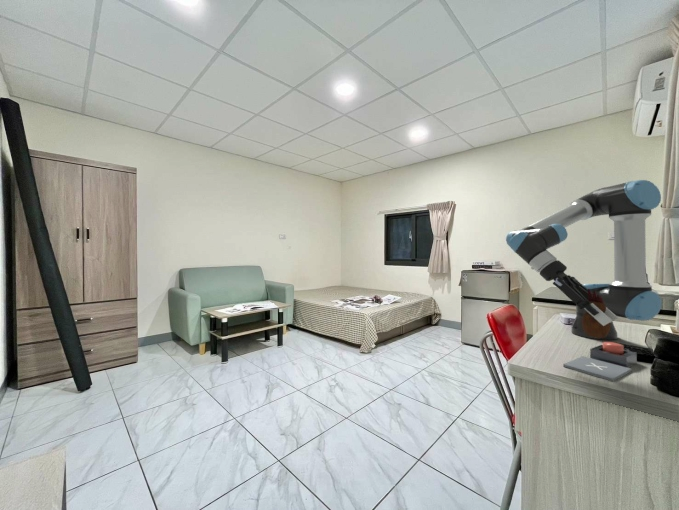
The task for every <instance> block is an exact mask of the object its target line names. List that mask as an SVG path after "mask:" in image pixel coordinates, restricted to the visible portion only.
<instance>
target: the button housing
mask: <svg viewBox="0 0 679 510" xmlns="http://www.w3.org/2000/svg"><path fill="white" fill-rule="evenodd" d="M589 353H590V356H589V358H592V359H596V360H600V361H604V362H607V363H611V364H615V365H619V366H623V367H627V368H631V367H632V366H634V365H636V364H637V363H638V362H637V361H638V360H637V359H638V358H637V357H638V353H637V352H636V351H631V350H627V349H624V354H623V355H619V354H615V353H611V352H606V351H603V344H599V345H597V346H594V347H592V348H590V352H589Z"/></svg>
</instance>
